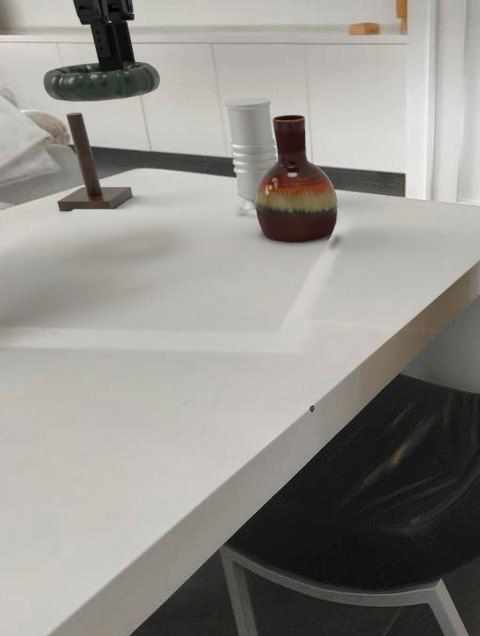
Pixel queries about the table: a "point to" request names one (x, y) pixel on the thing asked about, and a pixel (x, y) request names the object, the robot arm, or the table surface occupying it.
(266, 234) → the vase
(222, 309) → the table surface
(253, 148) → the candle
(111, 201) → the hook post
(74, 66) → the ring
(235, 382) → the table surface
